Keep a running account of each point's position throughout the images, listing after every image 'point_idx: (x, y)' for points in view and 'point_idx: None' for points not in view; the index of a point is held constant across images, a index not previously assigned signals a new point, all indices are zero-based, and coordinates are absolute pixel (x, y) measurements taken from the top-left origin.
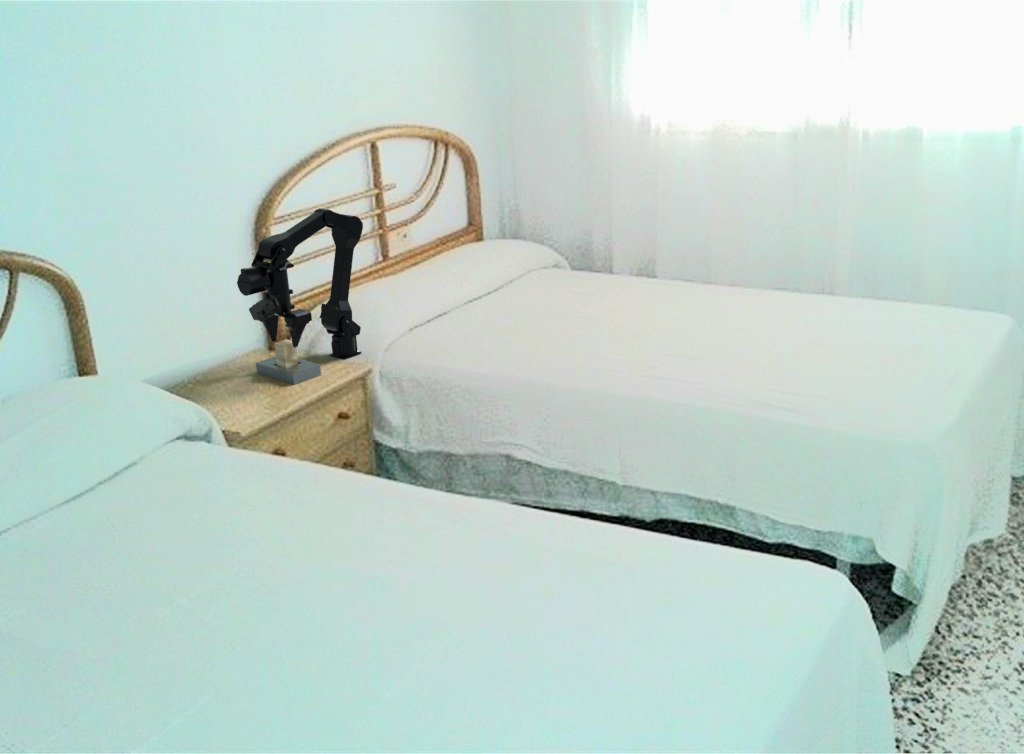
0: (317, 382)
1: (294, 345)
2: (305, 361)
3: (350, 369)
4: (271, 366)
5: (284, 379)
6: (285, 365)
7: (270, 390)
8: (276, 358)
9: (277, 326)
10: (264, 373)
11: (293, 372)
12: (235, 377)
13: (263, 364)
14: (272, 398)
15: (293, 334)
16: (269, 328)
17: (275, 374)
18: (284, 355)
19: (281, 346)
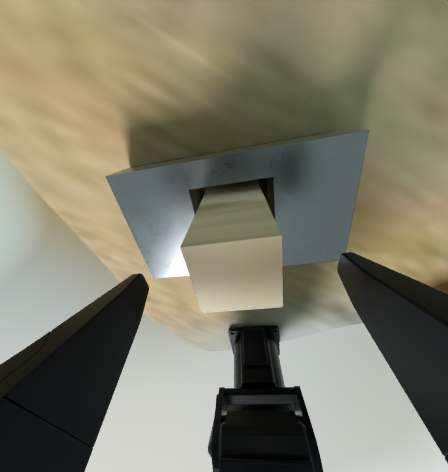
0: (121, 228)
1: (122, 282)
2: None
3: (166, 309)
4: (256, 160)
5: (172, 161)
6: (204, 200)
7: (126, 67)
8: (261, 199)
9: (400, 382)
10: (293, 139)
11: (123, 187)
12: (407, 18)
13: (313, 147)
14: (18, 13)
15: (16, 355)
16: (439, 334)
17: (221, 153)
18: (194, 219)
19: (203, 240)
